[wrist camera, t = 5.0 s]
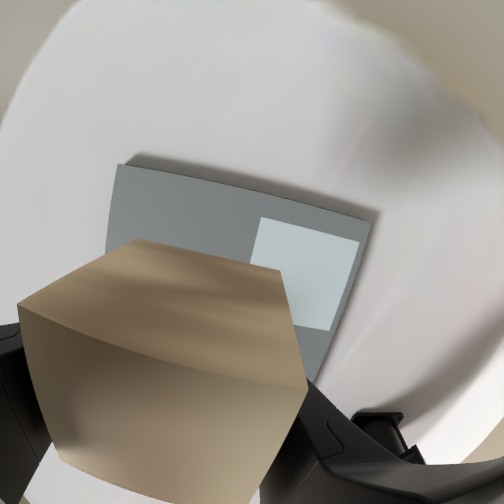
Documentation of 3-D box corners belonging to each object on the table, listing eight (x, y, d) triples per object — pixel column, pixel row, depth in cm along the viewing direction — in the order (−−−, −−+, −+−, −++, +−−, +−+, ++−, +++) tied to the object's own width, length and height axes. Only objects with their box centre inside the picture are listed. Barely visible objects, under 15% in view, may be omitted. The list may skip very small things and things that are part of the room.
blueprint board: (366, 221, 20) (371, 223, 19) (295, 409, 24) (296, 416, 23) (123, 164, 19) (117, 164, 18) (108, 365, 23) (104, 371, 22)
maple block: (280, 270, 10) (309, 389, 4) (247, 385, 11) (241, 515, 5) (137, 238, 9) (16, 303, 4) (129, 355, 11) (61, 460, 5)
